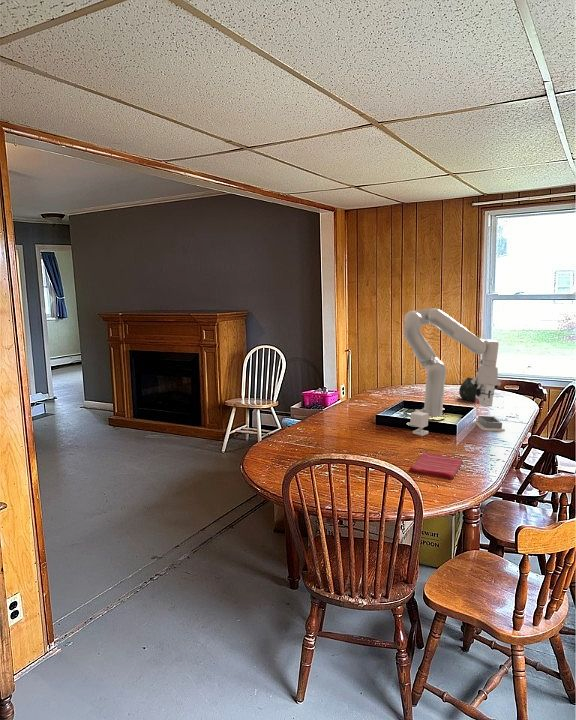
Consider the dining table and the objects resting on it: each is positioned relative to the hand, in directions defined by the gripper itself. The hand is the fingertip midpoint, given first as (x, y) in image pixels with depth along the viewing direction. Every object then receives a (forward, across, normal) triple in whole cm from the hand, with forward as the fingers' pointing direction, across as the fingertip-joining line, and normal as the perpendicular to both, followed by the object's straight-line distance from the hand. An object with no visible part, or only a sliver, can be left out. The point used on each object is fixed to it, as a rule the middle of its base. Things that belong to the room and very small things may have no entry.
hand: (484, 396), depth 285 cm
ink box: (+5, 0, 0) cm, 5 cm away
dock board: (+13, 0, -12) cm, 18 cm away
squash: (+13, +8, +48) cm, 50 cm away
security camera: (+15, -39, -29) cm, 51 cm away
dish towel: (+15, -41, -75) cm, 87 cm away
